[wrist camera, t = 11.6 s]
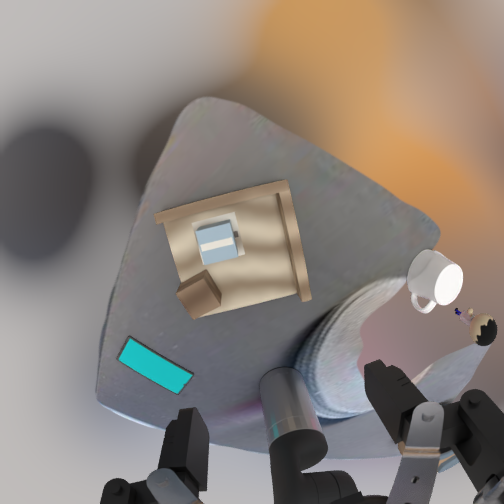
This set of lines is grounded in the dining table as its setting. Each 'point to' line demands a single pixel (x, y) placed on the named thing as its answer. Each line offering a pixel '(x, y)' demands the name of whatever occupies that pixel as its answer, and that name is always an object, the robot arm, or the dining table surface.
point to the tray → (243, 245)
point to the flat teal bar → (154, 366)
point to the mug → (433, 279)
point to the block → (217, 242)
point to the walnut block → (199, 294)
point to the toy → (479, 326)
